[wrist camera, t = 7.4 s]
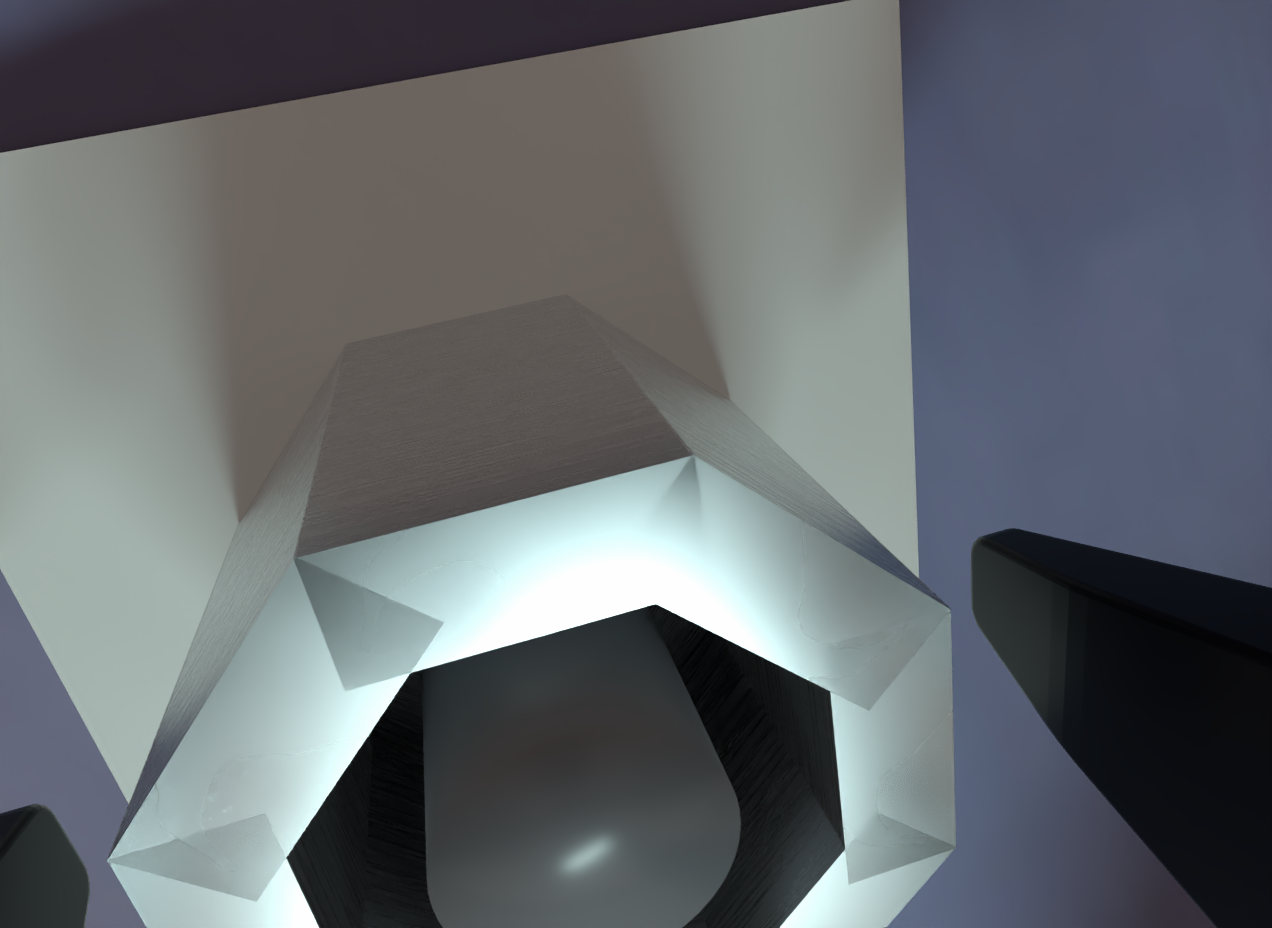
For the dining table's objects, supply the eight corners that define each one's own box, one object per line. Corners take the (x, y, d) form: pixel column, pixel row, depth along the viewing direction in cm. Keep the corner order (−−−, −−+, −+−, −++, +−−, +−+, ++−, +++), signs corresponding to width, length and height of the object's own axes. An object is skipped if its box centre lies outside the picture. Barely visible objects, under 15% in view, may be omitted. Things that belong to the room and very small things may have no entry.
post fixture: (894, 715, 15) (1163, 1057, 10) (236, 918, 14) (123, 1463, 8) (857, 1, 11) (1323, -96, 5) (-147, 180, 9) (-978, 310, 4)
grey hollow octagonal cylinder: (766, 670, 13) (958, 979, 8) (349, 794, 12) (315, 1216, 7) (712, 260, 10) (946, 389, 6) (180, 380, 9) (-25, 638, 5)
